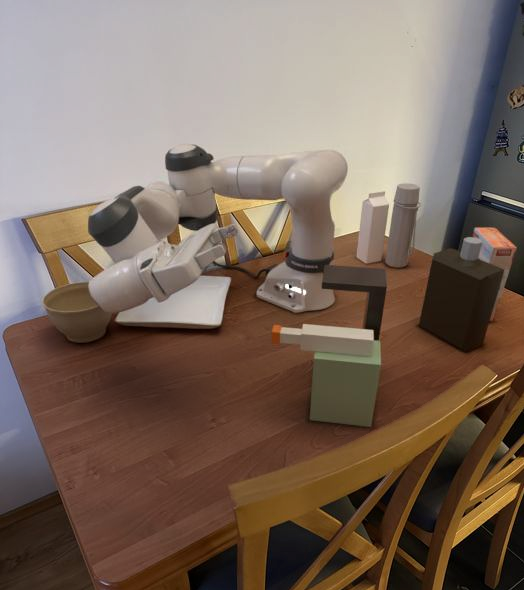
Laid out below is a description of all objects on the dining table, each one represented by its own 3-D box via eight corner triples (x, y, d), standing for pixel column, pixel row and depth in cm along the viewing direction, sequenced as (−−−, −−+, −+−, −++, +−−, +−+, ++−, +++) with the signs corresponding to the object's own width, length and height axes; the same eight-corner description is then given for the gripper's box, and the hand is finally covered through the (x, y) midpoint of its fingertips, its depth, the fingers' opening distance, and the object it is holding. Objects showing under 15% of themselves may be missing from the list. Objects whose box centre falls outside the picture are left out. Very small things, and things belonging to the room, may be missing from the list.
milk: (381, 261, 161) (391, 194, 149) (365, 264, 159) (374, 196, 147) (370, 254, 166) (379, 188, 153) (355, 257, 164) (363, 190, 151)
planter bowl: (127, 339, 122) (120, 300, 116) (61, 358, 115) (49, 318, 109) (109, 312, 134) (102, 275, 128) (47, 327, 127) (36, 290, 121)
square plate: (115, 333, 124) (112, 320, 122) (142, 285, 147) (140, 273, 145) (221, 335, 123) (220, 322, 121) (232, 286, 146) (231, 274, 144)
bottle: (465, 354, 116) (493, 256, 102) (414, 325, 127) (432, 233, 113) (486, 344, 119) (516, 248, 106) (435, 317, 131) (455, 226, 117)
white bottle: (271, 347, 92) (271, 331, 90) (274, 337, 95) (274, 321, 93) (371, 357, 89) (373, 340, 87) (371, 346, 92) (373, 329, 90)
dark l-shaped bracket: (314, 386, 106) (321, 281, 92) (317, 365, 113) (324, 264, 99) (370, 392, 104) (387, 286, 90) (370, 370, 111) (385, 268, 97)
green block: (309, 420, 97) (313, 358, 89) (313, 394, 104) (317, 335, 95) (371, 427, 95) (381, 364, 87) (370, 401, 102) (380, 340, 94)
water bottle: (379, 263, 160) (390, 185, 146) (395, 257, 163) (407, 181, 149) (401, 273, 153) (414, 192, 139) (417, 267, 157) (432, 188, 143)
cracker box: (495, 322, 128) (518, 247, 117) (471, 322, 128) (492, 246, 117) (477, 297, 140) (497, 226, 128) (456, 297, 140) (473, 226, 128)
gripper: (190, 260, 99) (249, 233, 94) (156, 307, 82) (226, 278, 77) (173, 232, 96) (234, 203, 91) (134, 275, 79) (206, 243, 74)
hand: (230, 238), depth 84 cm, fingers open, 8 cm apart
